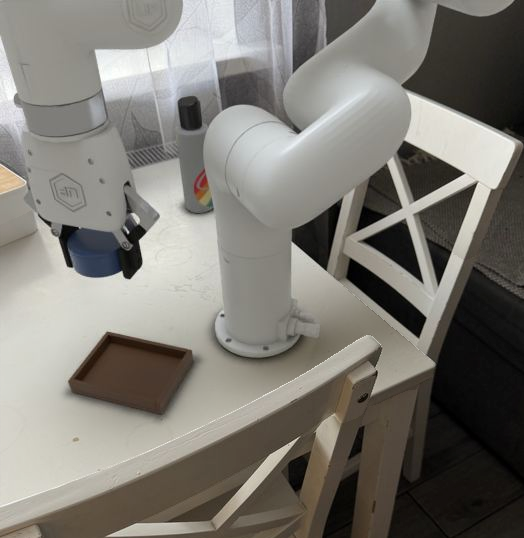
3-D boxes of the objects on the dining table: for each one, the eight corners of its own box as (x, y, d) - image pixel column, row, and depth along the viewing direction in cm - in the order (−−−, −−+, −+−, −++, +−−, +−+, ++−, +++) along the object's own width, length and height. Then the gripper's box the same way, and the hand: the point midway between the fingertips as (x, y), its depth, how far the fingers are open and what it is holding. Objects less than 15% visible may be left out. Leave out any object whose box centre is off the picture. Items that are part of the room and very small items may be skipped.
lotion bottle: (221, 207, 112) (211, 99, 98) (194, 216, 110) (181, 108, 96) (205, 195, 116) (194, 89, 102) (180, 204, 113) (165, 97, 100)
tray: (193, 360, 82) (192, 349, 81) (161, 414, 75) (159, 403, 74) (109, 341, 86) (106, 331, 84) (71, 391, 79) (67, 381, 77)
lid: (103, 238, 71) (98, 216, 69) (145, 254, 68) (140, 233, 66) (60, 266, 67) (53, 244, 65) (102, 285, 64) (97, 262, 62)
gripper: (-36, 116, 56) (21, 272, 68) (128, 138, 51) (158, 300, 64) (13, 88, 61) (58, 237, 73) (166, 105, 56) (187, 261, 69)
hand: (104, 265), depth 68 cm, fingers closed on lid, 6 cm apart
